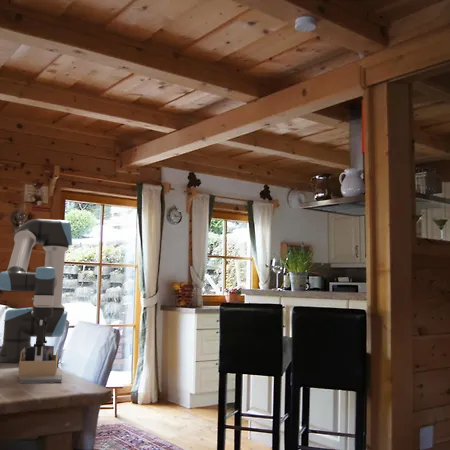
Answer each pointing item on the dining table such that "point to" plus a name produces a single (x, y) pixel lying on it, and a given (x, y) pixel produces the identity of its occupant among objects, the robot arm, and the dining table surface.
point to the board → (40, 378)
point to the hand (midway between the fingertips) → (39, 362)
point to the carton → (37, 366)
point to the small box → (47, 353)
